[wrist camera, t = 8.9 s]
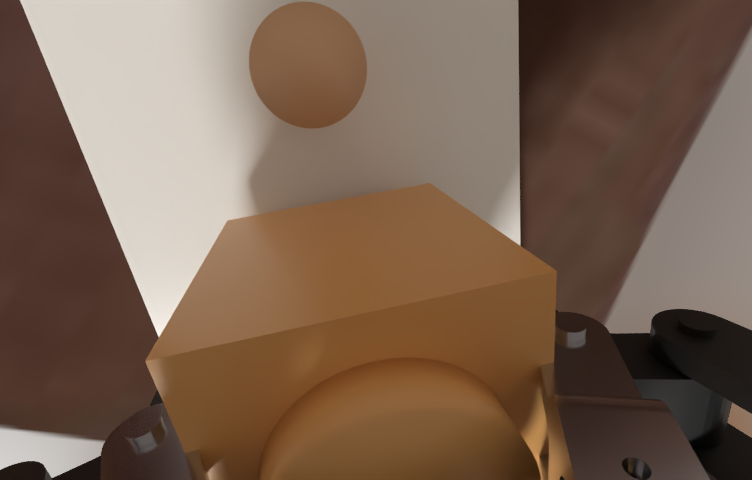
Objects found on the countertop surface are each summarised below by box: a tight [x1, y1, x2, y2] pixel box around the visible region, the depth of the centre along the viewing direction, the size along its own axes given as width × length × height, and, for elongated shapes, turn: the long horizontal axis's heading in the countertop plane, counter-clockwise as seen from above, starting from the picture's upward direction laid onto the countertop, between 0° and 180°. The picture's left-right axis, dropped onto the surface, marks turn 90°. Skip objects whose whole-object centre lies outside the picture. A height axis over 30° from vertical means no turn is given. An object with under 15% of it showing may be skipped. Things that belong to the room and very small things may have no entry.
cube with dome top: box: [145, 183, 557, 480], centre depth 9 cm, size 6×6×7 cm
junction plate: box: [20, 0, 520, 337], centre depth 10 cm, size 12×14×6 cm
